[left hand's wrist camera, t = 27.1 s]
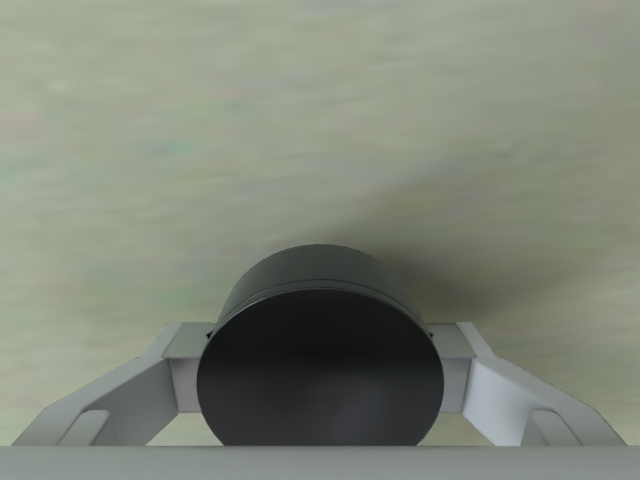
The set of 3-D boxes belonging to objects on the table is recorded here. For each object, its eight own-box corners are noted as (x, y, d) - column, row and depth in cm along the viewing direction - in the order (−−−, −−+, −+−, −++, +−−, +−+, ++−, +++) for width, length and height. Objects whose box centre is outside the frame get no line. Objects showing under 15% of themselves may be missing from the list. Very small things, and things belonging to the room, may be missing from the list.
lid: (293, 202, 9) (284, 234, 7) (459, 314, 10) (498, 373, 8) (186, 353, 11) (153, 418, 9) (341, 434, 12) (345, 510, 10)
